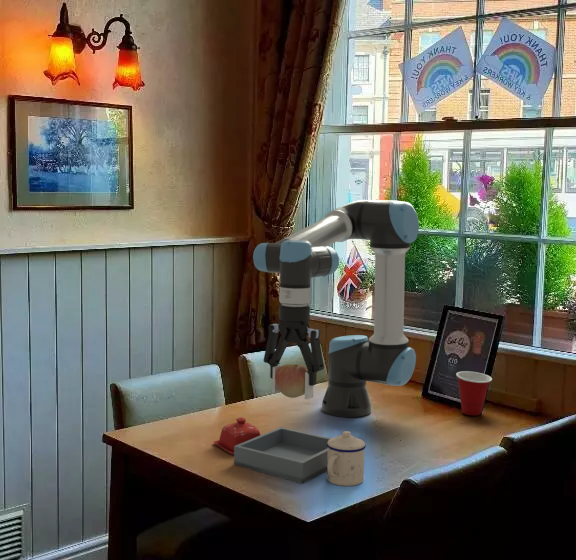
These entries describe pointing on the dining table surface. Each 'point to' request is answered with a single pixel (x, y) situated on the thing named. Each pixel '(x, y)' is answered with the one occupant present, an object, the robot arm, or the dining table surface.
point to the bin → (284, 454)
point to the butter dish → (236, 434)
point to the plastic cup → (472, 391)
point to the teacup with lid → (345, 460)
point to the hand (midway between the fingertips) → (292, 394)
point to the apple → (291, 380)
